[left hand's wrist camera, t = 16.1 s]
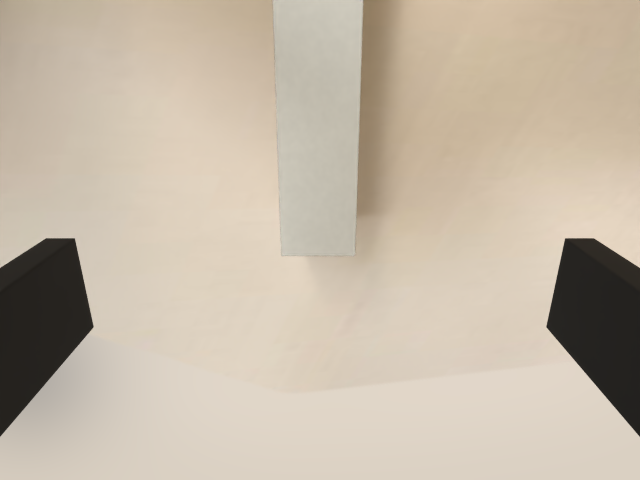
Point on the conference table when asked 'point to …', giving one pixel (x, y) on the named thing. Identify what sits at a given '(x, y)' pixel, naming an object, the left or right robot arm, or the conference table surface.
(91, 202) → the conference table surface
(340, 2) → the bar
